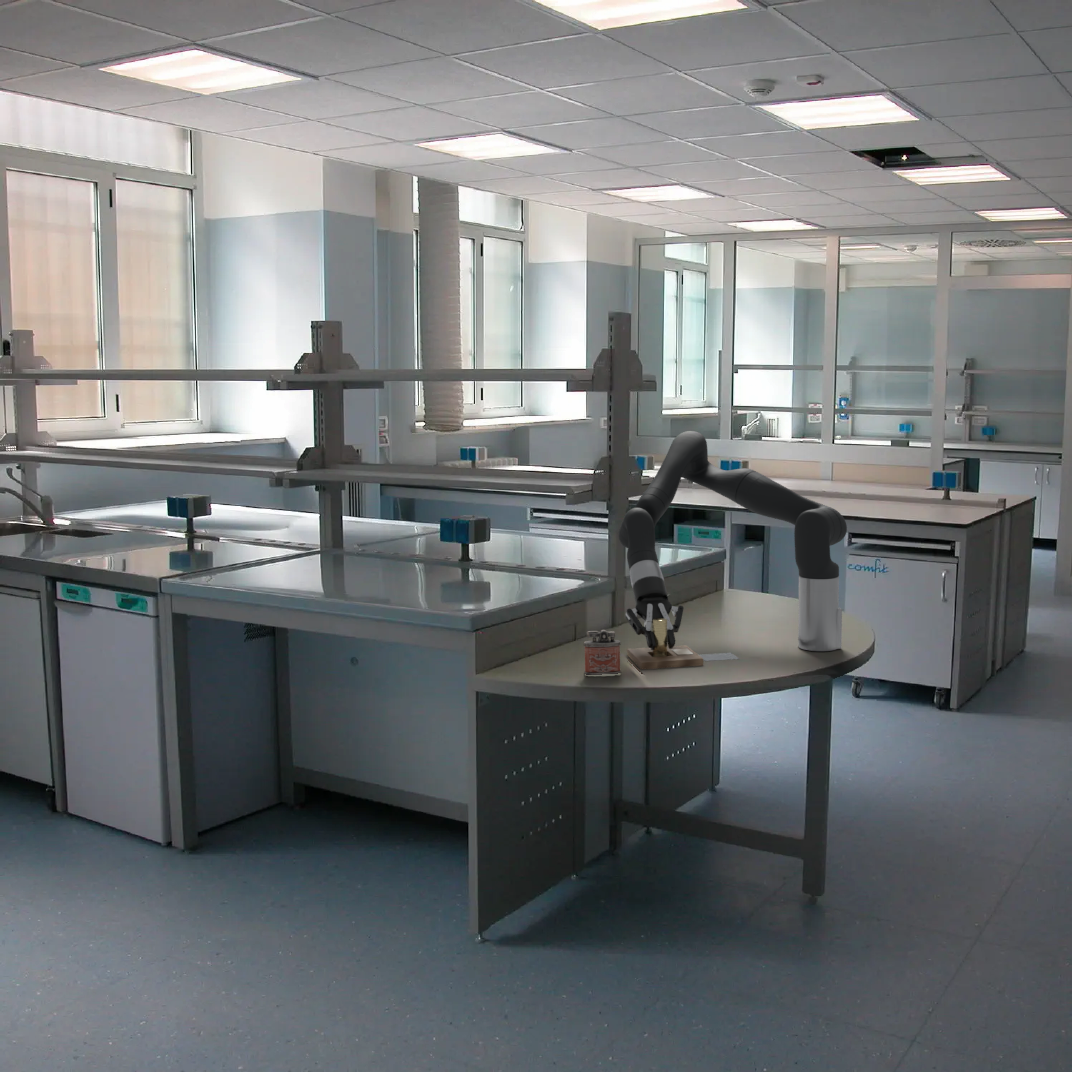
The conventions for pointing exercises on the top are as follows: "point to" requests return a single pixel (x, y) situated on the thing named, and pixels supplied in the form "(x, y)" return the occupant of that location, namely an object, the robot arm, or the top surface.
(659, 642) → the brass peg
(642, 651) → the hole board
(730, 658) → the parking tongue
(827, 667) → the top surface
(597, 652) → the lighter
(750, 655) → the top surface
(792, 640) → the top surface
